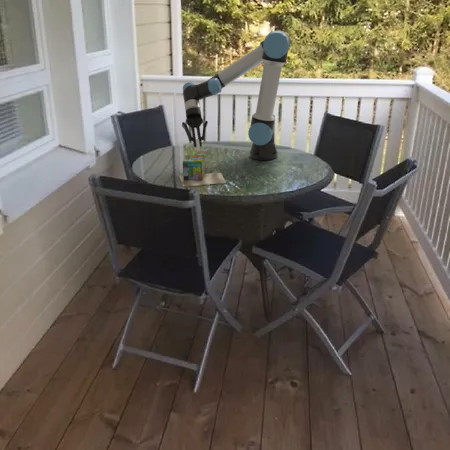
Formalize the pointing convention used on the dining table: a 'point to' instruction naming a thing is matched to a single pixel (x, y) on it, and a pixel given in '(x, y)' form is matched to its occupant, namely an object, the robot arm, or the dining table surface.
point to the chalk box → (193, 167)
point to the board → (204, 180)
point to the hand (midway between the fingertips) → (198, 152)
